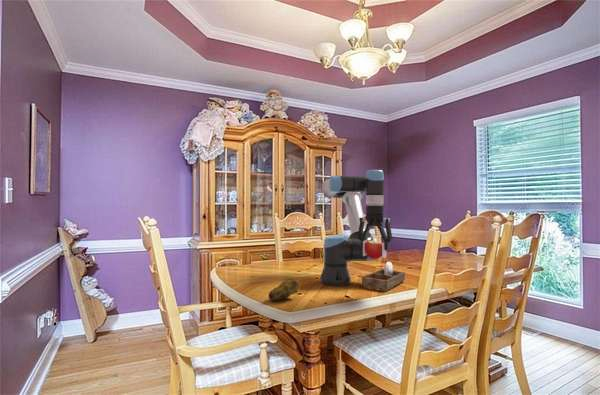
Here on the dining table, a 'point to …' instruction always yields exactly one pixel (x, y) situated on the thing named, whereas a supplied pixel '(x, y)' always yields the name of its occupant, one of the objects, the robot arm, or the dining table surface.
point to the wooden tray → (382, 280)
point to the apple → (373, 249)
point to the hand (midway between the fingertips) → (374, 256)
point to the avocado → (284, 290)
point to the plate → (388, 269)
